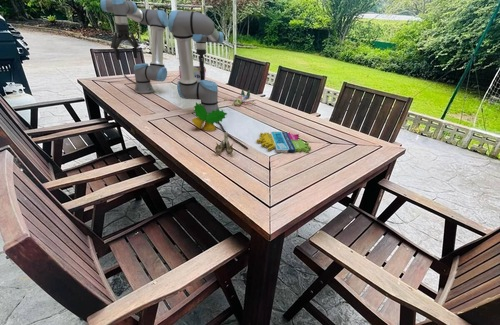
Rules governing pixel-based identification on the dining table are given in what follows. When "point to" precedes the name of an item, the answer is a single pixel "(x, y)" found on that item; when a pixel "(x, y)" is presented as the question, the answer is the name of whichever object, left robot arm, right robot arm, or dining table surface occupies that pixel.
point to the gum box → (196, 73)
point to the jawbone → (224, 145)
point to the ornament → (207, 117)
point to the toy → (241, 99)
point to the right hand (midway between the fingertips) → (202, 79)
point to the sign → (283, 142)
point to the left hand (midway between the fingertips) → (127, 58)
